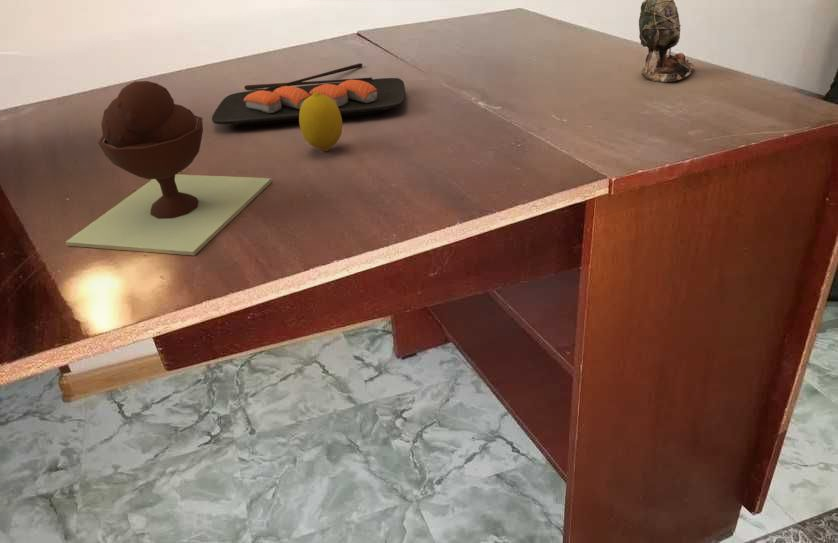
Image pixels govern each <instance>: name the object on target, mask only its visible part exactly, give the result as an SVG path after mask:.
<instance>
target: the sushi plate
mask: <svg viewBox="0 0 838 543" xmlns="http://www.w3.org/2000/svg"><path fill="white" fill-rule="evenodd" d="M362 67H363V63H359V62H358V63H356V64H351V65H348V66H344V67H340V68H337V69H333V70H330V71H325V72H323V73H319V74H315V75H312V76H308V77H304V78H300V79H297V80H293V81H290V82H276V83H261V84H260V83H259V84H258V83H257V84H246V85H244V87H243V88H244V90H248V91H240V92H237V93H236V92H235V93H231V94H229V95H227V96H225V97H224V98H223V99H222V100H221V102H220V103H219V104H218V106H217V107H216V109H215V110H214V112H213V114H212V117H211V121H212V123H213V124H215V125H238V126H243V127H245V126H260V125H271V124H279V123H280V124H281V123H283V124H284V123H292V122H299V112H300V108H301V105H302V103H303V102H304V101H305V100H306V99H307V98H308V97H310V96H311V95H312V94H313V93H314V92H319V93H320V94H323V95H326V96H328V97H330V98H331V99H332V100H333V101H334V102H335V103H336V104H337V106H338V108H339V111H340V114H341V118H343V117H344V118H345V117H346V118H347V117H355V116H356V117H357V116H364V115H365V116H366V115H374V114H378V113H382V112H384V111H385V110H390V109H394V108H398V107H401V106H402V105H403V104H404V103H405V100H406V86H405V82H404V81H403V80H402V79H401V78H398V77H386V78H385V77H382V78H373V77H357V78H343V79H342V78H341V79H328V80H325V79H324V80H315V79H318V78H322V77H328V76H331V75H335V74H340V73H343V72H347V71H348V72H349V71H351V70H355V69H359V68H362ZM310 80H311V81H310Z"/></svg>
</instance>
